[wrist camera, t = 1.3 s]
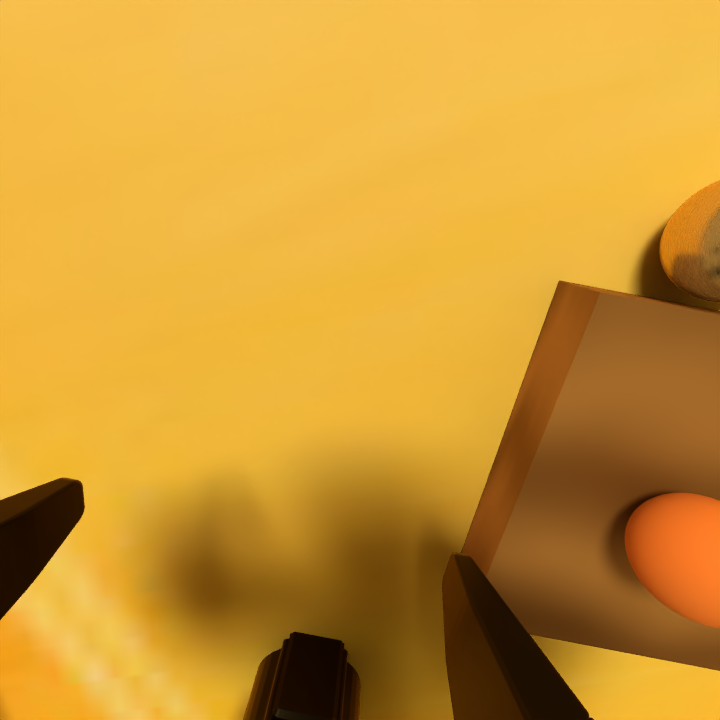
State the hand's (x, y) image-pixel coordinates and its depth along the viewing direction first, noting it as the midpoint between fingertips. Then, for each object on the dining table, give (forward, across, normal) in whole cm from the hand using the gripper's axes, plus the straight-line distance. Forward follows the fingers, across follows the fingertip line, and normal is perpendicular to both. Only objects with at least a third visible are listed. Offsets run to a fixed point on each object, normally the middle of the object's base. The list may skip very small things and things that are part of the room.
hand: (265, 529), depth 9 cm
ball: (+2, -12, 0) cm, 12 cm away
